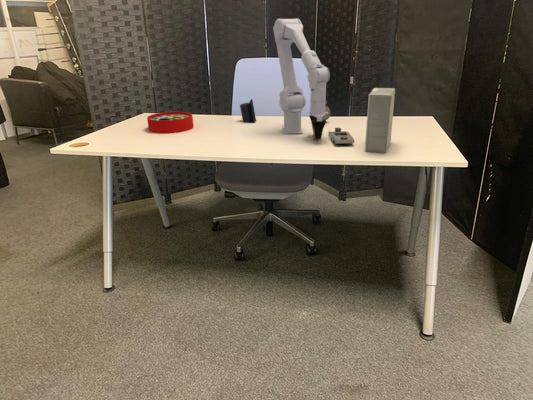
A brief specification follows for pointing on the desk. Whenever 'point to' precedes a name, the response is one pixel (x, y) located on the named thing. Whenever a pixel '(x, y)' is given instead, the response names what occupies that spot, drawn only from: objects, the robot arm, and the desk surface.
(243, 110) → the speaker
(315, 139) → the brass pin
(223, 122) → the desk surface
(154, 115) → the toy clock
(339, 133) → the square cutout plate
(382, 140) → the hard drive box
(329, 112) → the pocket watch
